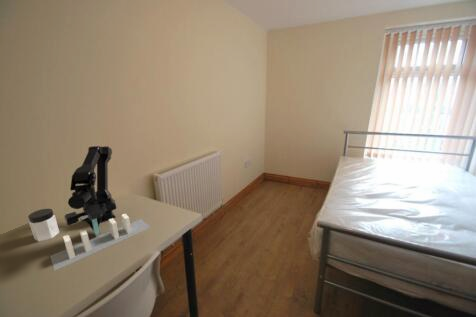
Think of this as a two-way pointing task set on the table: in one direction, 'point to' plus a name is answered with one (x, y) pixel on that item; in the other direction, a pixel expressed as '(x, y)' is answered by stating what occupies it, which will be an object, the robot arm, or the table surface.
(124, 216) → the domino
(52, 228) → the jar
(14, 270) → the table surface
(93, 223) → the domino
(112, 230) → the domino
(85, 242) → the domino
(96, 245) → the runner mat
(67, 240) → the domino
